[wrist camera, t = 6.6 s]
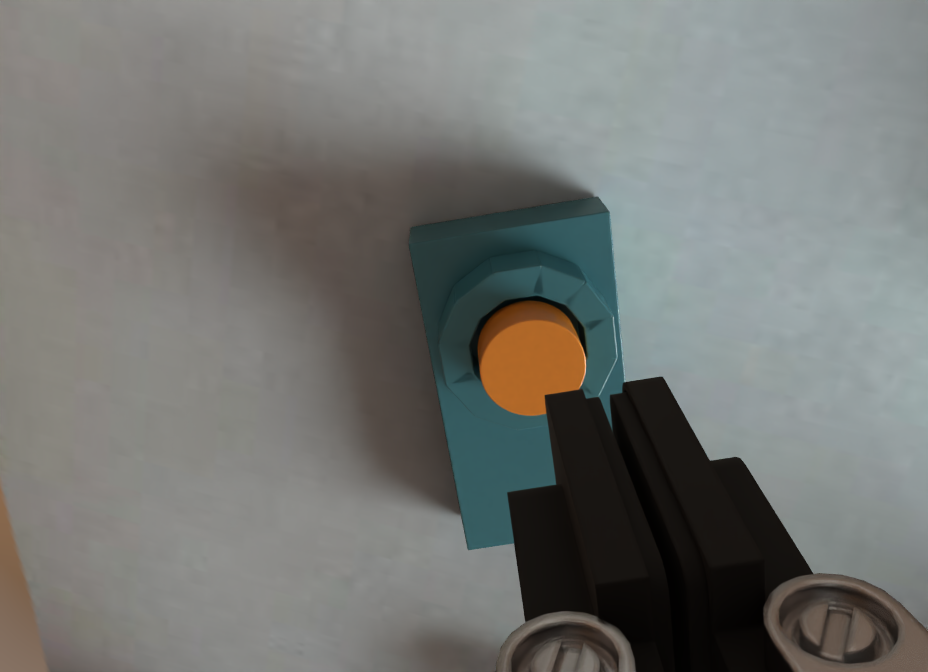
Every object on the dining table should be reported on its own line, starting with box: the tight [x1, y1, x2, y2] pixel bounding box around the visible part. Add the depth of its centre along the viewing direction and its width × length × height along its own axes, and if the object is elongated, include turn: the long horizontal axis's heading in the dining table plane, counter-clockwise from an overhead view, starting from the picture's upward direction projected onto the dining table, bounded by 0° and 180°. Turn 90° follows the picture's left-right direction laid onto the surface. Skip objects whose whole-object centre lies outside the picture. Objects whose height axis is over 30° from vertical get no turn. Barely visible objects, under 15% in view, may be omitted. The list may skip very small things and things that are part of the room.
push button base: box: [409, 197, 625, 550], centre depth 36 cm, size 15×8×4 cm, turn 9°
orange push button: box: [477, 300, 586, 416], centre depth 32 cm, size 4×4×2 cm
